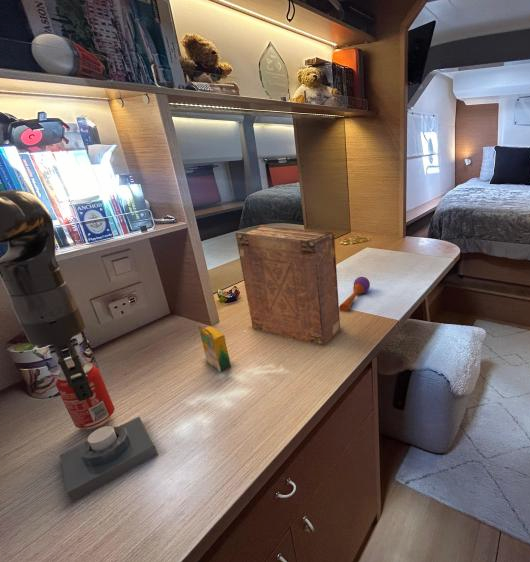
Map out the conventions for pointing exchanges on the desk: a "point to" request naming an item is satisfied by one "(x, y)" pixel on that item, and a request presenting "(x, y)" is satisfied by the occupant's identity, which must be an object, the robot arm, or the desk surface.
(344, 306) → the purple and orange maraca
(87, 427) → the beverage can
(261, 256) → the brown wooden chest
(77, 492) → the button base
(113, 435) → the white button cap
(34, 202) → the robot arm
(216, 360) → the crayon box
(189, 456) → the desk surface
